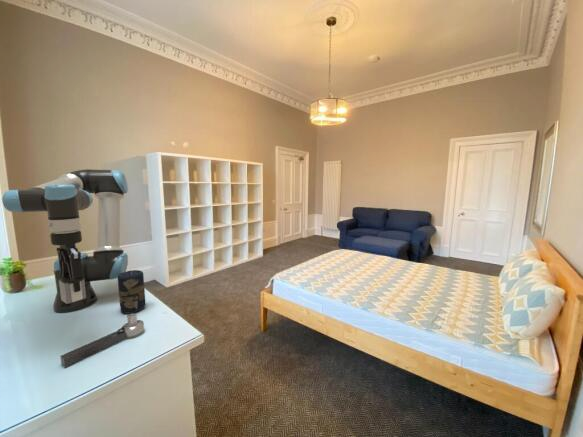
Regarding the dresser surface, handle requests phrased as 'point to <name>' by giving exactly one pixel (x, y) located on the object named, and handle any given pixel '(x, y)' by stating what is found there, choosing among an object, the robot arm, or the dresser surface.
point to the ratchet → (105, 341)
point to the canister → (131, 291)
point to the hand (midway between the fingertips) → (74, 297)
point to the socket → (66, 291)
